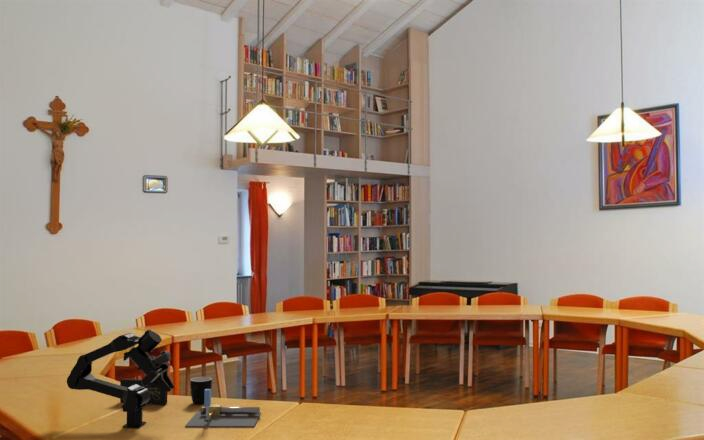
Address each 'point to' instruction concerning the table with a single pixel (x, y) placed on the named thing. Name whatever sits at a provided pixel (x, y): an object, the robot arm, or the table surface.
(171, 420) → the table surface
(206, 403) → the valve lever
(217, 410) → the valve pipe
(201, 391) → the mug
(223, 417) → the gray mounting plate
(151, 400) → the nameplate
